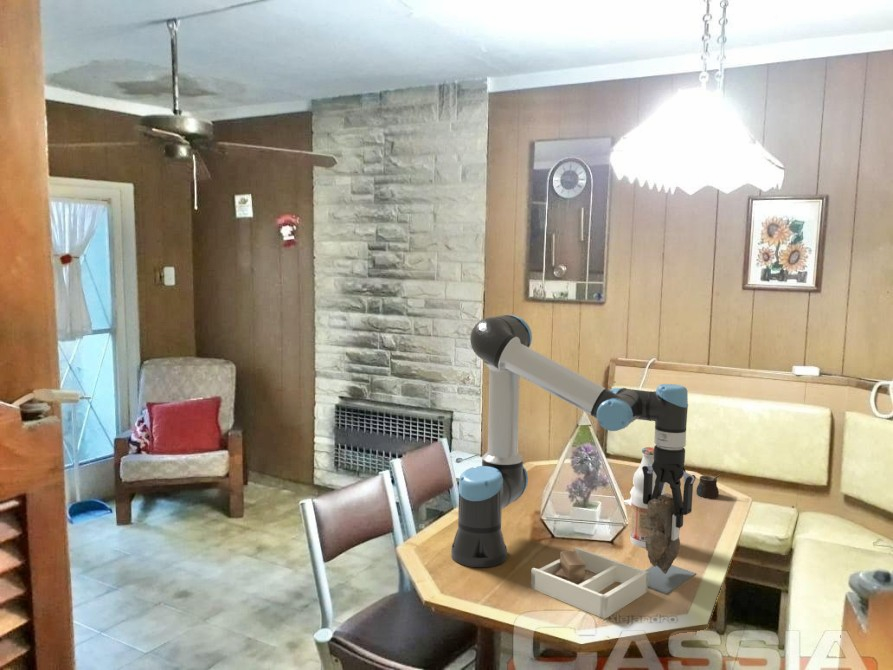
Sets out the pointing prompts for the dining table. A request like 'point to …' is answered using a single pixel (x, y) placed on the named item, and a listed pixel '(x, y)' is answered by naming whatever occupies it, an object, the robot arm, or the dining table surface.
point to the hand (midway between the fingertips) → (665, 535)
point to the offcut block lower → (562, 575)
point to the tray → (593, 584)
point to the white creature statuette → (631, 497)
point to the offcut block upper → (572, 565)
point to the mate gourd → (708, 487)
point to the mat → (667, 578)
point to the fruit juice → (641, 500)
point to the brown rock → (661, 532)
